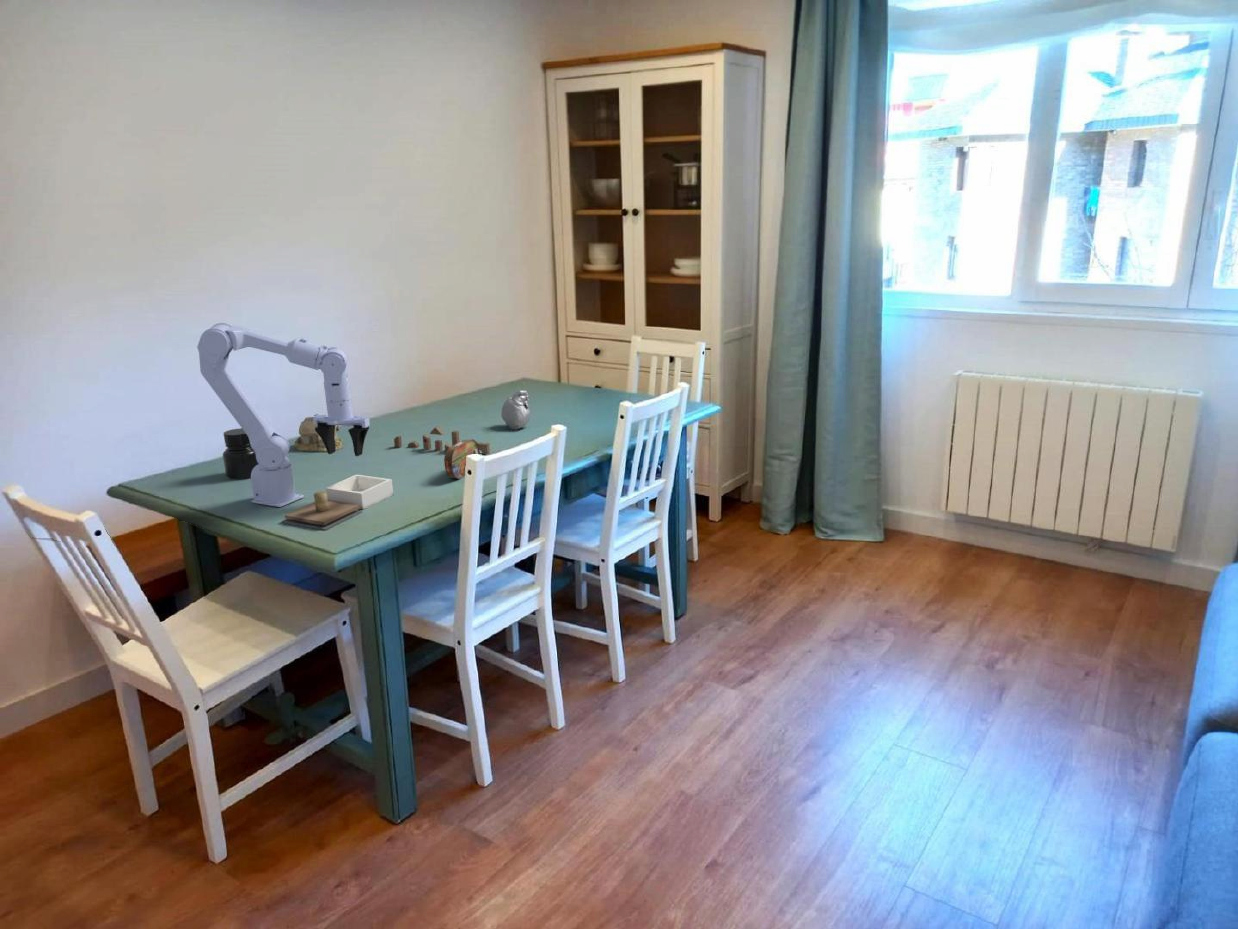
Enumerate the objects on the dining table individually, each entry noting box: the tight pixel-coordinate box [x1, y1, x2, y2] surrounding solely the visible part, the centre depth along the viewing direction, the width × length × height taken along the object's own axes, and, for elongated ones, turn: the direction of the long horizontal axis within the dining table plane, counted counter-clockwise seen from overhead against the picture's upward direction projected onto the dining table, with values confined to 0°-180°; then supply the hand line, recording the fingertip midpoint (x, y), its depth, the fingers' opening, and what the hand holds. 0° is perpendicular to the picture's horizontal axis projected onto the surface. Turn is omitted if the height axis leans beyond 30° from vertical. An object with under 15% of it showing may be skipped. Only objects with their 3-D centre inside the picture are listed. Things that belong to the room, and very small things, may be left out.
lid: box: [284, 491, 360, 525], centre depth 198 cm, size 12×12×5 cm
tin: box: [443, 438, 481, 480], centre depth 226 cm, size 15×3×8 cm, turn 161°
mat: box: [281, 509, 363, 531], centre depth 199 cm, size 13×12×1 cm
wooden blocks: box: [393, 426, 491, 455], centre depth 248 cm, size 30×3×7 cm, turn 72°
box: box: [324, 473, 394, 511], centre depth 209 cm, size 11×11×4 cm
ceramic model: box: [294, 413, 344, 452], centre depth 253 cm, size 14×11×10 cm
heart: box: [500, 390, 531, 431], centre depth 269 cm, size 10×10×12 cm
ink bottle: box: [222, 427, 259, 480], centre depth 229 cm, size 10×9×12 cm
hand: (345, 454), depth 210 cm, fingers open, 7 cm apart
